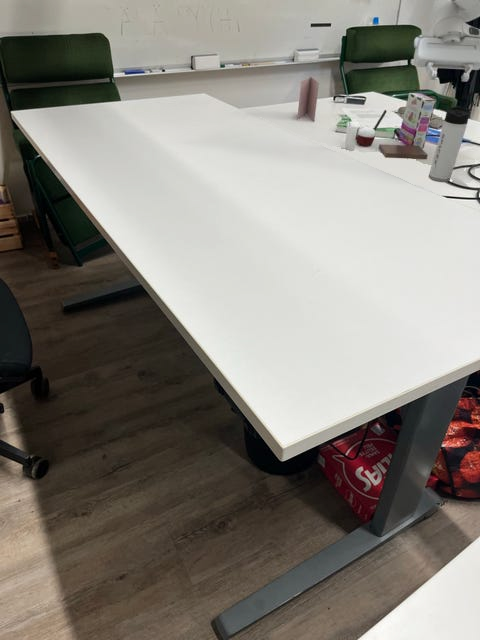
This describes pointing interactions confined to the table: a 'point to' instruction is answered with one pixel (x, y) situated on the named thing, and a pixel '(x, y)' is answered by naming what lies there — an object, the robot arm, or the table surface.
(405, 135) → the candy bar box
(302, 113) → the greeting card
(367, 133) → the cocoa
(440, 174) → the travel mug
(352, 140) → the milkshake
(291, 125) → the table surface
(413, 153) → the walnut board
